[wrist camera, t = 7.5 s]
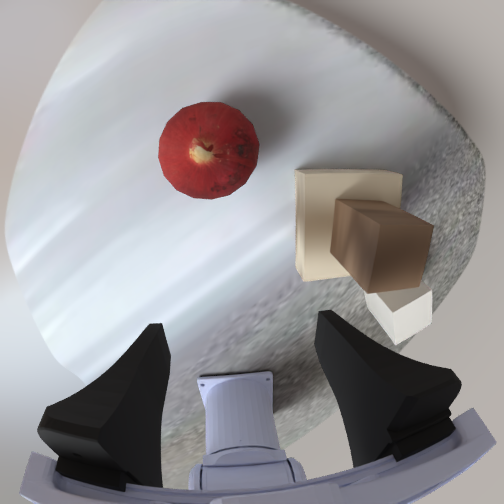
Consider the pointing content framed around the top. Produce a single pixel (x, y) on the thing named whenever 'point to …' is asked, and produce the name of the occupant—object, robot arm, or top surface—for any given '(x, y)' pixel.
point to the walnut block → (380, 244)
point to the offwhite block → (402, 311)
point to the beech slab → (322, 212)
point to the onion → (208, 150)
